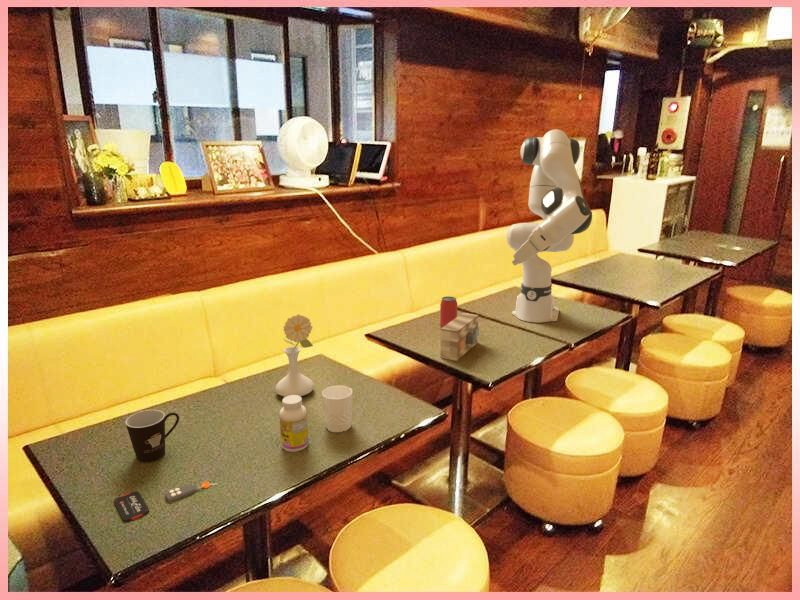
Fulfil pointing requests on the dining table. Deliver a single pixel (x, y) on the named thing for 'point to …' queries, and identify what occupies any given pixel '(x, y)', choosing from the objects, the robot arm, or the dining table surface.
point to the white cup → (337, 408)
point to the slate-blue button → (476, 331)
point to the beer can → (447, 310)
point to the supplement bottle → (293, 424)
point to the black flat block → (131, 506)
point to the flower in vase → (295, 357)
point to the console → (457, 336)
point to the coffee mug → (148, 434)
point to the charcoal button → (470, 338)
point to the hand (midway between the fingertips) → (514, 263)
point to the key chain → (185, 491)
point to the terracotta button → (461, 344)
